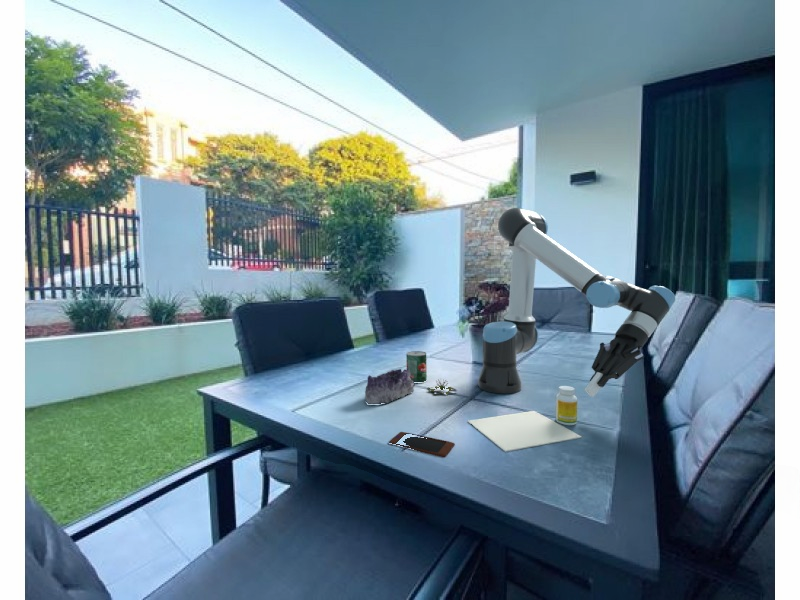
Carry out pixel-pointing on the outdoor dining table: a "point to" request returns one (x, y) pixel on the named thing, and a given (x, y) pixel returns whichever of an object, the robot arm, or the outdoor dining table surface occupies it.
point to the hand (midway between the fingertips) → (589, 393)
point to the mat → (522, 430)
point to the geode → (388, 386)
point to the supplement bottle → (566, 406)
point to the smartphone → (425, 444)
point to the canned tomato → (417, 365)
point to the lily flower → (441, 387)
